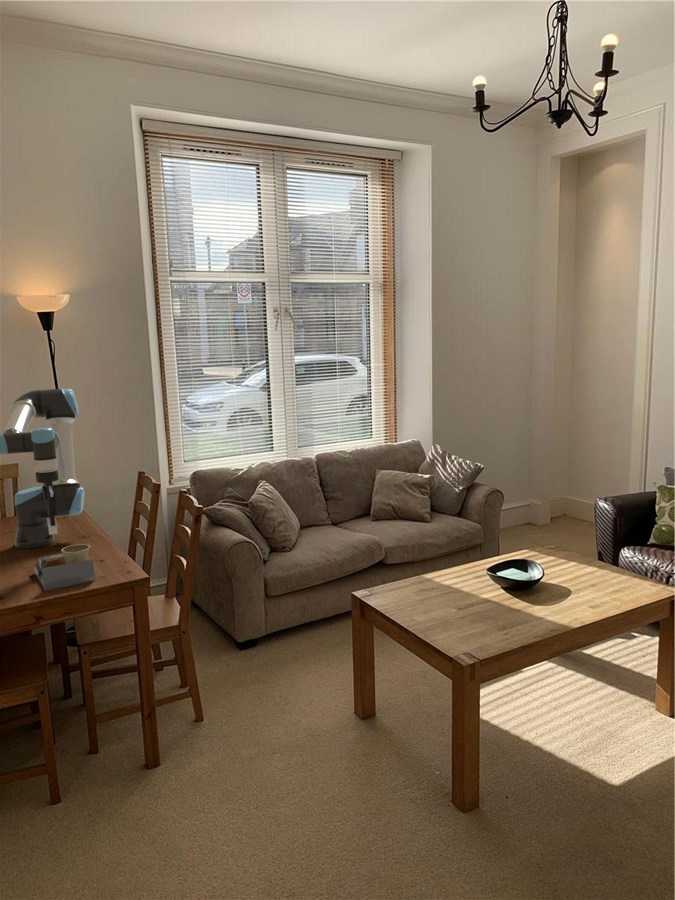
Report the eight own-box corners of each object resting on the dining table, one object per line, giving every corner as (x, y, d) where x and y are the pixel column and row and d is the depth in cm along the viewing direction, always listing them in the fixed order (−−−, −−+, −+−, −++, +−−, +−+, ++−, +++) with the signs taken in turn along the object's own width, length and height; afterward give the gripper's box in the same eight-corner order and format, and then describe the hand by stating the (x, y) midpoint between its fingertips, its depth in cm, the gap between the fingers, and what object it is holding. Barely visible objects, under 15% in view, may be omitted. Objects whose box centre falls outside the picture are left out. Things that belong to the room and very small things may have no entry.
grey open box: (34, 573, 239) (32, 553, 237) (81, 564, 247) (79, 544, 246) (45, 591, 220) (42, 569, 219) (94, 580, 228) (92, 559, 227)
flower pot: (97, 567, 237) (95, 544, 235) (82, 576, 227) (80, 552, 226) (74, 566, 238) (71, 543, 237) (58, 575, 229) (55, 551, 228)
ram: (40, 568, 237) (39, 557, 237) (77, 561, 244) (76, 550, 243) (42, 571, 234) (41, 561, 233) (79, 564, 240) (78, 553, 240)
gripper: (32, 469, 243) (39, 531, 246) (38, 474, 232) (45, 539, 236) (54, 467, 247) (60, 528, 250) (60, 471, 236) (67, 535, 239)
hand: (53, 533), depth 243 cm, fingers closed
